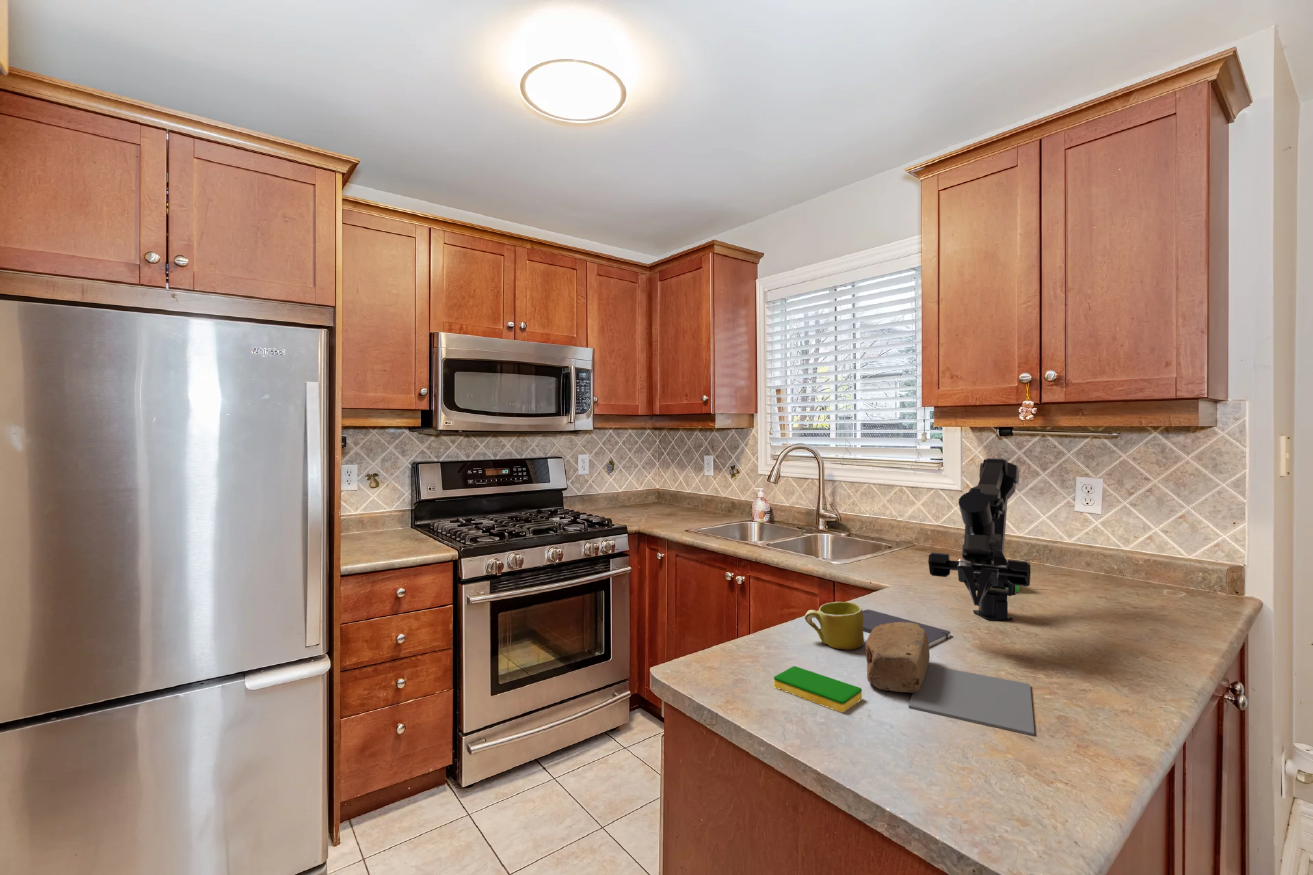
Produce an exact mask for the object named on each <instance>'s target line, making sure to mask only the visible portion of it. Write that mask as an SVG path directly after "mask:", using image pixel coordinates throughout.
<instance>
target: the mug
mask: <svg viewBox="0 0 1313 875" xmlns="http://www.w3.org/2000/svg"><path fill="white" fill-rule="evenodd" d="M862 611H863V608H862V606H861V605H860V604H857V603H854V602H849V601H833V602H826V603H824V604H822V605H821V606H820V607H819V609H818V610H815V609H809V610H807V612H806V613H805V615H804V620H805V621H806V623H807V624H808V625H809V626H810V627H812V629H814V630H815V631H816V633H817V634H818V638H820V640H821V642H822V643H823V644H825V645H828V646H829V647H831V648H834V649H837V650H838V649H839V650H841V649H842V650H845V651H854V650H857V649H860V647H863V645H864V642H865V638H864V637H865V636H864V631H863V612H862ZM813 618H815V619H816V620H817V622H818V624H819V625H820V628H819V626H817V624H816V623H815V622H814V621H813V620H812V619H813Z"/></svg>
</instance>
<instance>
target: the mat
mask: <svg viewBox="0 0 1313 875" xmlns="http://www.w3.org/2000/svg"><path fill="white" fill-rule="evenodd" d="M911 694H912V695H911V698H910V700H909V704H908V709H913V710H916V711H917V710H918V711H922V712H925V713H926V712H927V713H931V714H935V715H940V716H944V717H949V718H953V719H957V720H961V721H967V722H971V723H976V724H980V725H984V726H989V727H993V728H996V729H997V728H998V729H1001V730H1007V731H1010V732H1011V731H1012V732H1015V733H1019V734H1023V735H1024V734H1025V735H1028V736H1033V737H1034V736H1035V728H1034V726H1035V725H1034V716H1033V715H1034V714H1033V706H1032V705H1033V703H1032V702H1033V700H1032V693H1031V683H1027V682H1023V681H1021V682H1020V681H1017V680H1011V679H1005V678H1000V677H994V676H990V675H984V674H980V673H979V674H978V673H972V672H968V671H963V670H957V669H952V668H948V667H947V668H946V667H942V666H936V665H931V664H928V668H927V670H926V675H925V677H924V680H923V682H922V684H921V686H920V690H919V691H918V692H915V693H911Z"/></svg>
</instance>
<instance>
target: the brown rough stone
mask: <svg viewBox="0 0 1313 875" xmlns="http://www.w3.org/2000/svg"><path fill="white" fill-rule="evenodd" d="M865 657H866V663H867V664H866V671H867V672H866V678H867V682H869V683H871V684H872V685H873V686H874V687H876V688H877V689H879V690H883V691H892V692H897V693H910V694H913V693H915V692H918V691H919V690H920V686H921V684H922V682H923V680H924V677H925V675H926V670H927V668H928V665H930V647H929V642H928V636H927V634H926V632H925V630H924V629H922V628H921V626H920V625H918V624H915V623H910V622H894V623H887V624H881V625H879V626H876V627H875V628H874V629H873V630H872V631H871V633H869V635H868V637H867V640H866V642H865Z"/></svg>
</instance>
